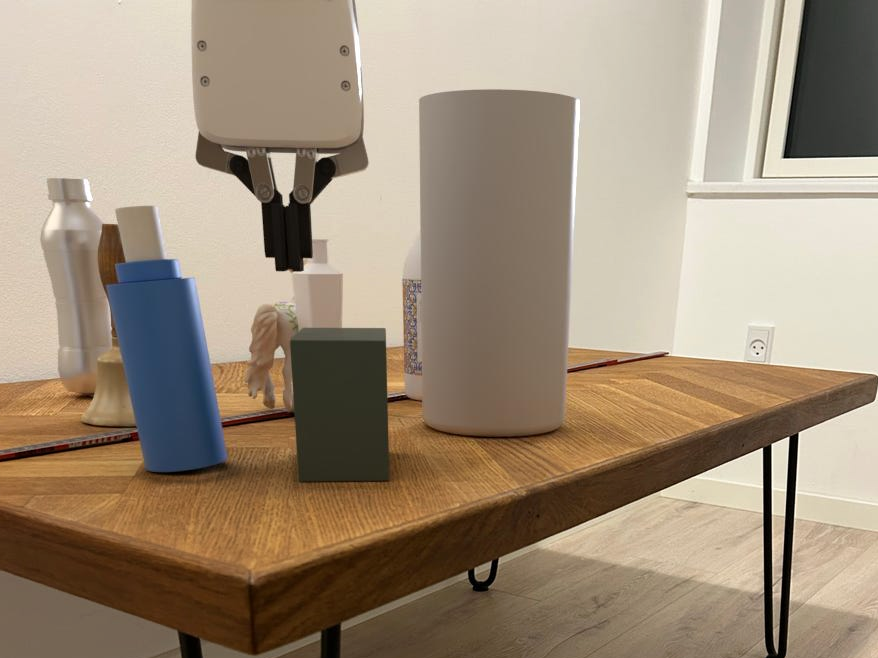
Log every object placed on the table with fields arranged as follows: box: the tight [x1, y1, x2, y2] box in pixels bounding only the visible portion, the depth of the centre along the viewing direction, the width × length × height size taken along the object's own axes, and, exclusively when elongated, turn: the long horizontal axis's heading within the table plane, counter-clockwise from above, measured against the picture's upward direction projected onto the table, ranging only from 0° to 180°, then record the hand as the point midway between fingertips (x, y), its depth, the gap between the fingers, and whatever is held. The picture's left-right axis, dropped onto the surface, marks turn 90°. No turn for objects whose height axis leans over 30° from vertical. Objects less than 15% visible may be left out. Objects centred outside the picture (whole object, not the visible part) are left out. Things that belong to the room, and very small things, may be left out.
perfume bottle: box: [290, 238, 344, 331], centre depth 84 cm, size 5×4×15 cm
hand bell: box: [80, 223, 137, 427], centre depth 81 cm, size 8×8×16 cm
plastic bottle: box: [39, 177, 112, 397], centre depth 93 cm, size 6×7×20 cm
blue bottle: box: [106, 205, 228, 473], centre depth 63 cm, size 12×6×16 cm
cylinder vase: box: [418, 88, 581, 438], centre depth 78 cm, size 12×12×25 cm
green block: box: [290, 327, 390, 483], centre depth 66 cm, size 6×10×9 cm, turn 5°
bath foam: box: [401, 229, 422, 402], centre depth 95 cm, size 7×7×20 cm
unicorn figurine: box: [244, 258, 307, 414], centre depth 90 cm, size 7×20×13 cm, turn 1°
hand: (290, 270), depth 62 cm, fingers closed
